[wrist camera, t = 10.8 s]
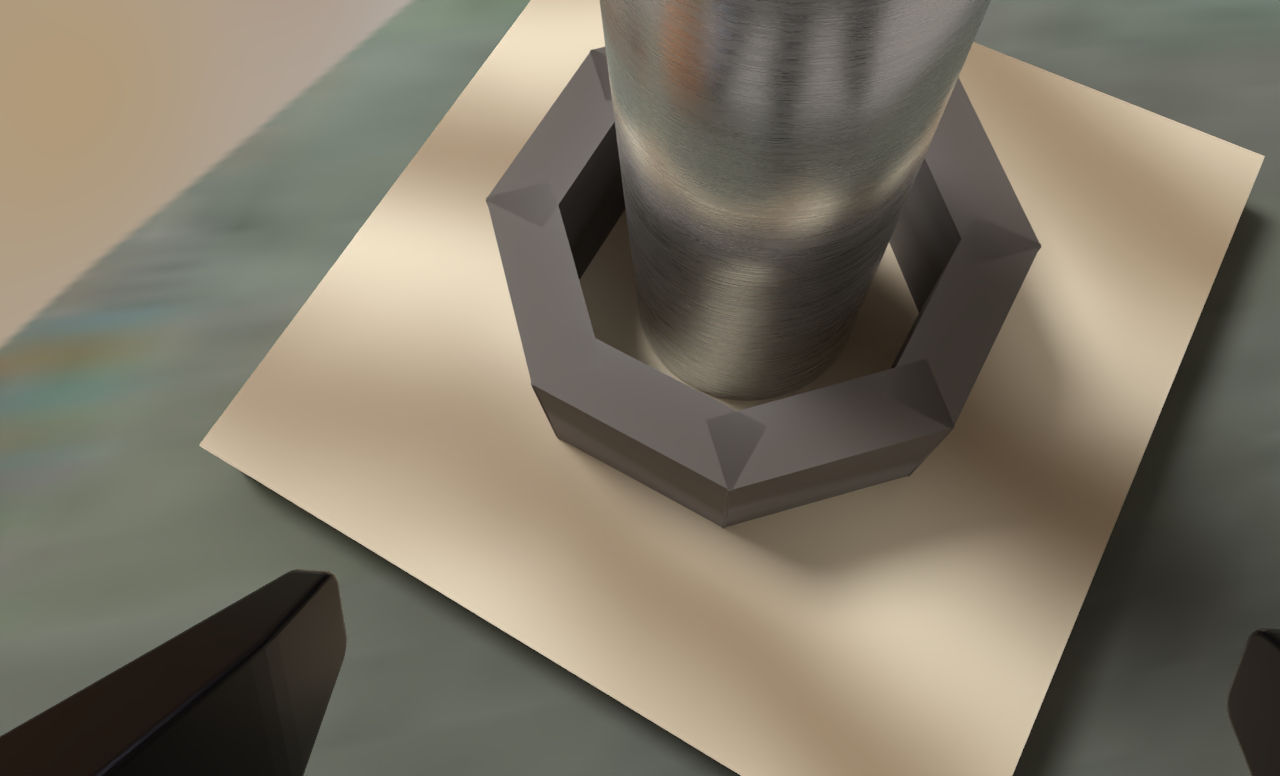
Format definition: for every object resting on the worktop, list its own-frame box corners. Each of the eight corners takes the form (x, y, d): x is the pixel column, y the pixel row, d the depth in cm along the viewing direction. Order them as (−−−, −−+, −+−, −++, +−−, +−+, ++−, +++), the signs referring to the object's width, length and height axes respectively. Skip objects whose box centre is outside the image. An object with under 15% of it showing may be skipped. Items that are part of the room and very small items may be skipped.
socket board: (934, 890, 16) (1023, 954, 12) (234, 465, 19) (106, 395, 15) (1224, 195, 20) (1365, 57, 16) (611, -53, 24) (594, -220, 19)
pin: (876, 384, 18) (1305, -374, 5) (652, 415, 18) (569, -272, 5) (831, 191, 19) (1086, -742, 7) (625, 220, 19) (513, -660, 7)
